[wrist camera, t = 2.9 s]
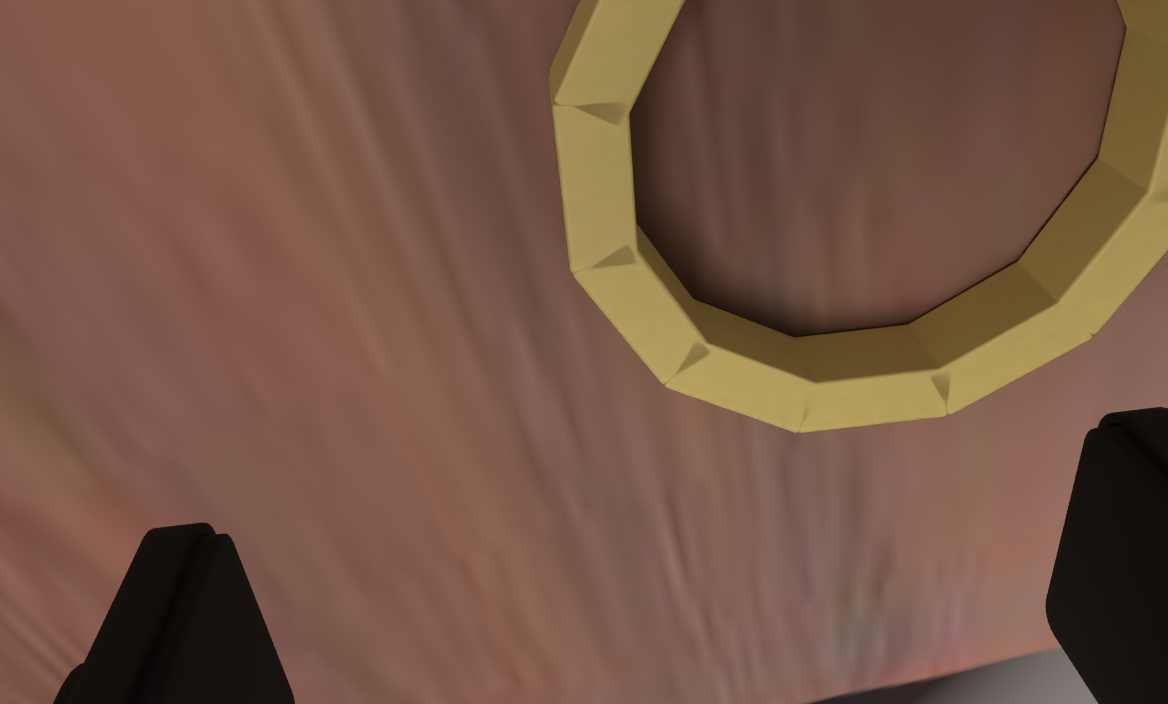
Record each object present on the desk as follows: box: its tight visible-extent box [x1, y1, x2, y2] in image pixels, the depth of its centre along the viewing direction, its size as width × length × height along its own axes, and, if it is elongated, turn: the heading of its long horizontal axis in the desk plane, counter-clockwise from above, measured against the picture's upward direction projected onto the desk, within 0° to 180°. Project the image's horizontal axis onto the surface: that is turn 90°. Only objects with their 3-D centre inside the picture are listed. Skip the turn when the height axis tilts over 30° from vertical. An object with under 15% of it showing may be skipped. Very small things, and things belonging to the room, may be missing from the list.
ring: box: [548, 0, 1168, 433], centre depth 19 cm, size 13×13×2 cm
